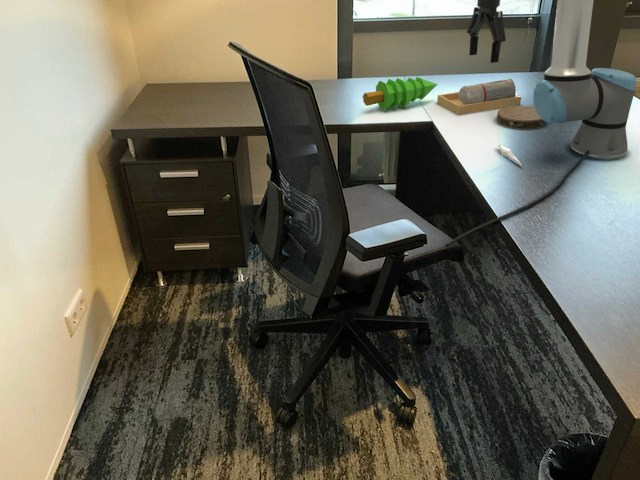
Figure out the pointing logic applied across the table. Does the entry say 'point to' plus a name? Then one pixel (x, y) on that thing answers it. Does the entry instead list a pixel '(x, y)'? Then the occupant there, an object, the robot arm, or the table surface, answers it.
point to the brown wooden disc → (519, 117)
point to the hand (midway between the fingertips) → (483, 58)
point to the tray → (457, 106)
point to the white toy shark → (509, 154)
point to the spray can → (487, 91)
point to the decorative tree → (398, 92)
